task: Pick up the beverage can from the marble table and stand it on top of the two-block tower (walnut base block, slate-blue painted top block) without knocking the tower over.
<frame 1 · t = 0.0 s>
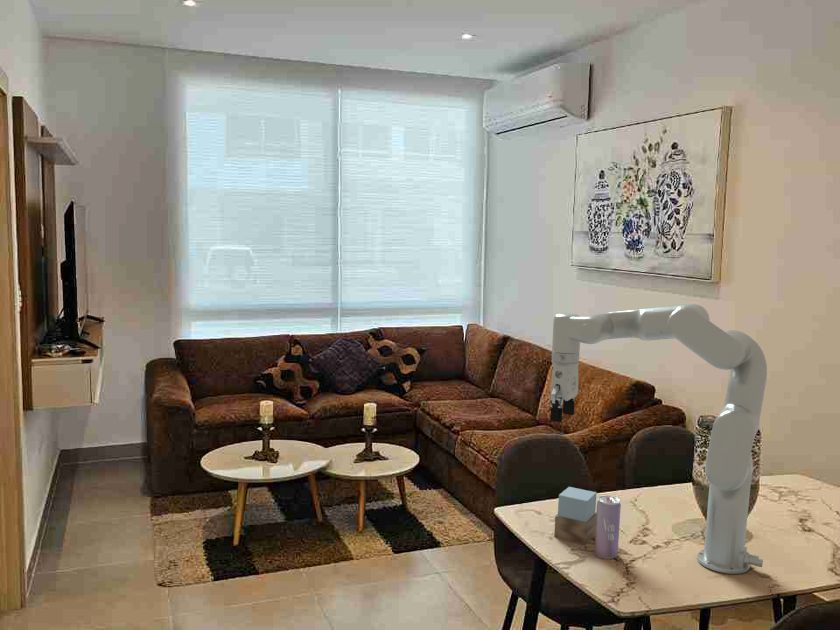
hand: (562, 417, 216), 31 cm above the table, fingers open, 9 cm apart
base block: (575, 535, 213), on the table, touching top block
beverage can: (605, 555, 200), on the table
top block: (576, 514, 212), point 6 cm above the table, touching base block
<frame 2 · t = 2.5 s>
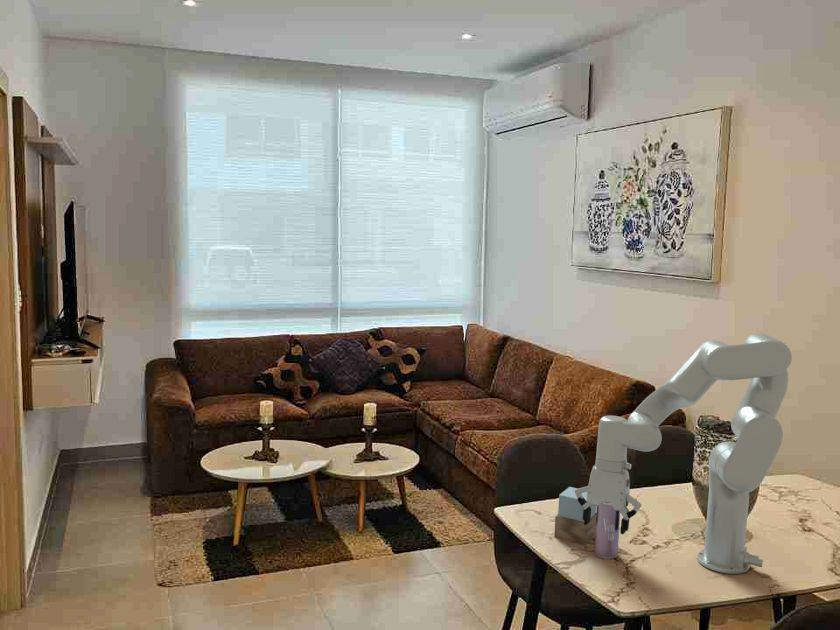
hand: (604, 527, 200), 7 cm above the table, fingers open, 9 cm apart
nothing on the table moved.
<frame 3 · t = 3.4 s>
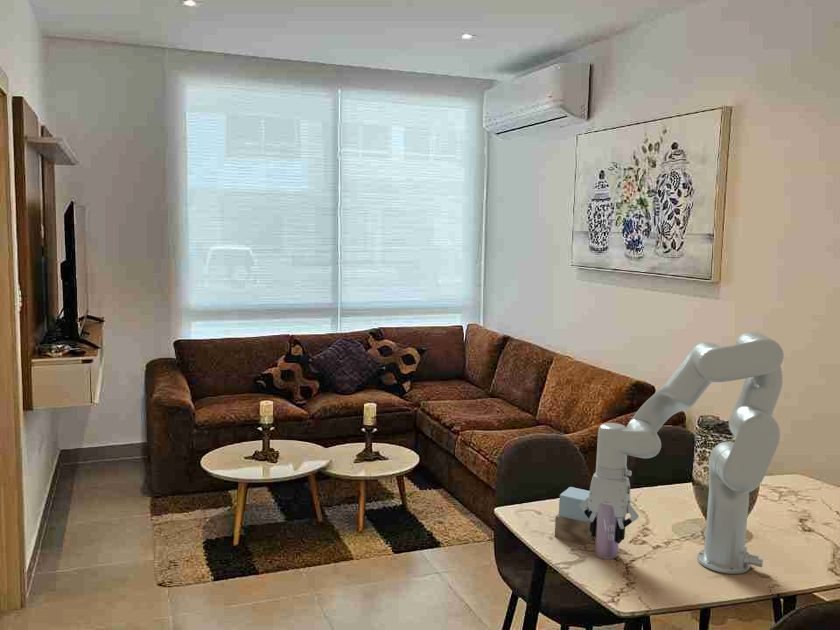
hand: (606, 537, 200), 5 cm above the table, fingers closed on beverage can, 6 cm apart
beverage can: (605, 555, 200), on the table, touching gripper
everything else where it was.
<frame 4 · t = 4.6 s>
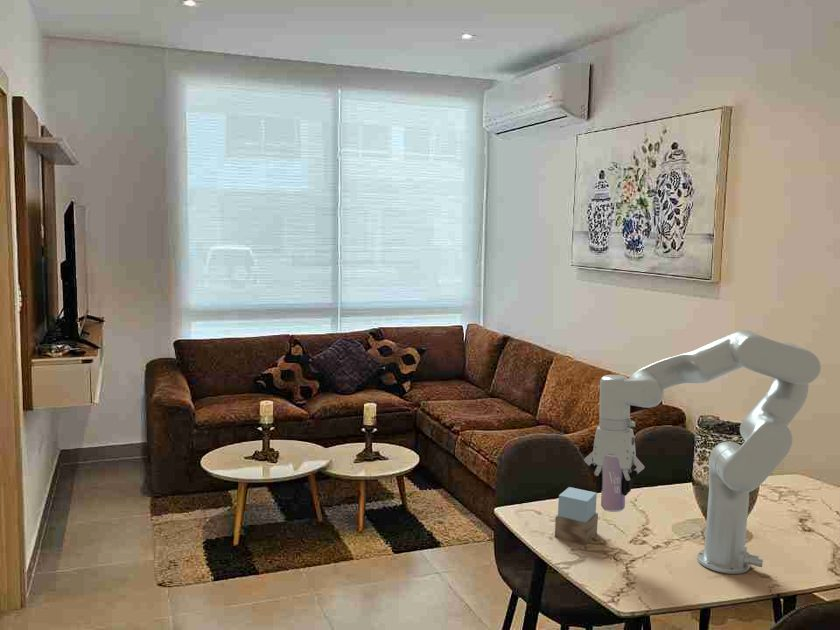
hand: (613, 491, 198), 17 cm above the table, fingers closed on beverage can, 6 cm apart
beverage can: (612, 509, 199), point 12 cm above the table, touching gripper
everything else where it was.
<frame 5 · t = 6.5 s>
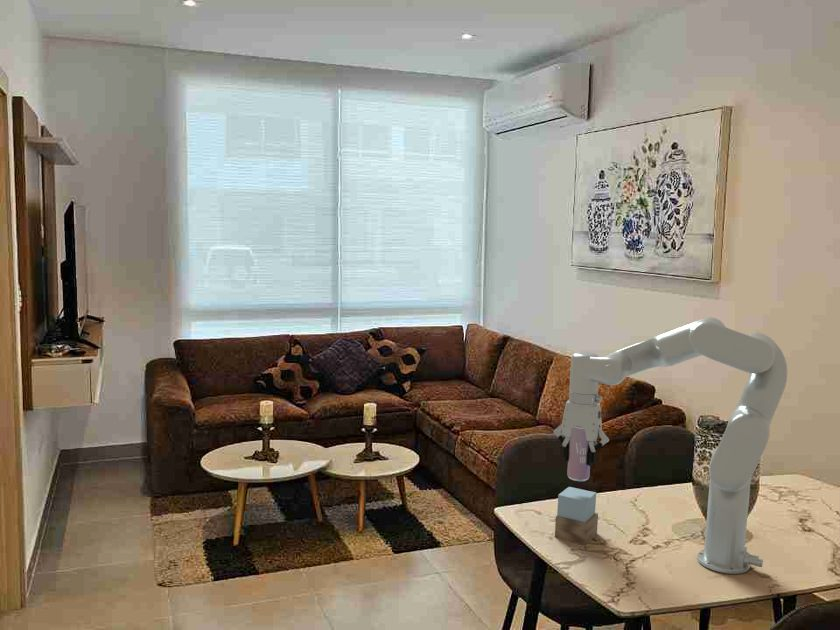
hand: (579, 461, 210), 21 cm above the table, fingers closed on beverage can, 6 cm apart
beverage can: (578, 478, 211), point 16 cm above the table, touching gripper
everything else where it was.
when the fingers open (18 cm above the table, at t = 7.4 s): beverage can stays where it is, resting on top block.
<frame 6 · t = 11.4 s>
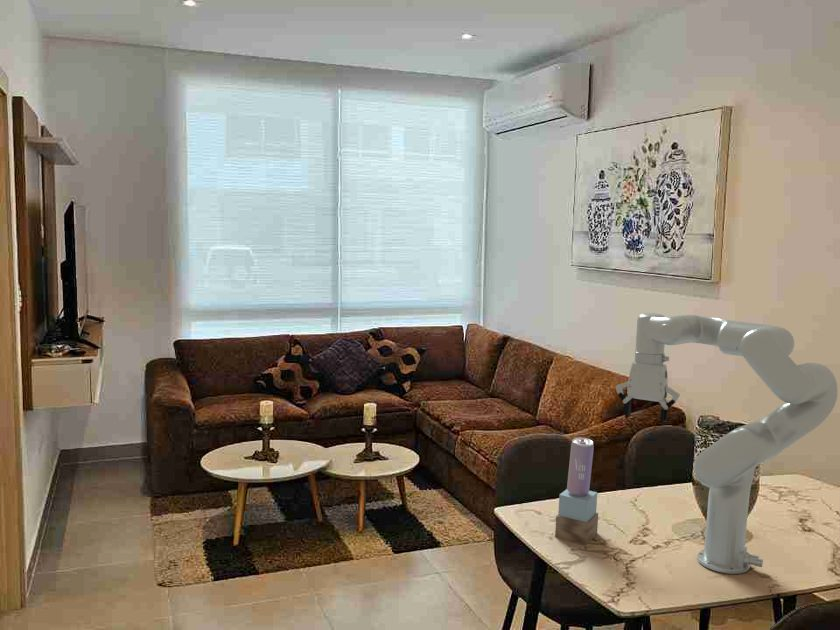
hand: (645, 419, 212), 32 cm above the table, fingers open, 9 cm apart
beverage can: (577, 493, 211), point 12 cm above the table, touching top block
top block: (577, 514, 212), point 6 cm above the table, touching base block, beverage can
everything else where it was.
at the end: beverage can 0.2 cm off-centre on the top block, point 6.2 cm above the top block's base; beverage can tilted 8°; top block moved 0.2 cm from its start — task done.
